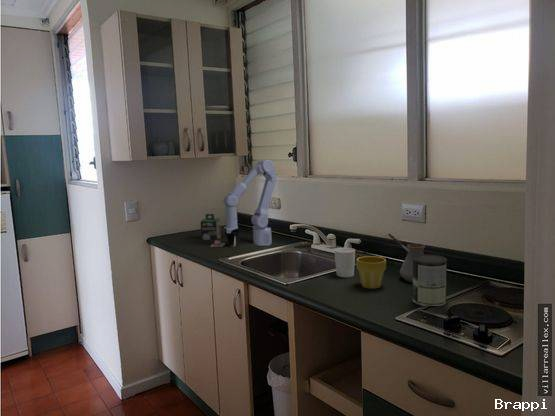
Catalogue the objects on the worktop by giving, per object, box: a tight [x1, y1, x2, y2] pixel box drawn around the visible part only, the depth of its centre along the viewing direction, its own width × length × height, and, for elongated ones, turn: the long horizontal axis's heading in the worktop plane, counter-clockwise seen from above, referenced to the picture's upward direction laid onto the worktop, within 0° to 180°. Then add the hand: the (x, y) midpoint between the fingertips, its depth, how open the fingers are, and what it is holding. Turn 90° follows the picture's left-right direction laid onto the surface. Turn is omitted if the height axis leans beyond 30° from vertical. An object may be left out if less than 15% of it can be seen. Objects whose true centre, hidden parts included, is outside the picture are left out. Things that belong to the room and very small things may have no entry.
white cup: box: [334, 247, 356, 278], centre depth 171 cm, size 8×8×10 cm
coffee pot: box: [385, 233, 426, 283], centre depth 166 cm, size 21×12×15 cm, turn 26°
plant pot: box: [355, 255, 387, 290], centre depth 157 cm, size 10×10×10 cm
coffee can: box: [412, 254, 448, 307], centre depth 139 cm, size 10×10×14 cm
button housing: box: [210, 242, 226, 248], centre depth 226 cm, size 6×6×2 cm
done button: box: [214, 239, 222, 245], centre depth 226 cm, size 3×3×2 cm
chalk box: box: [199, 213, 222, 241], centre depth 245 cm, size 9×9×15 cm
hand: (232, 244), depth 224 cm, fingers open, 5 cm apart
